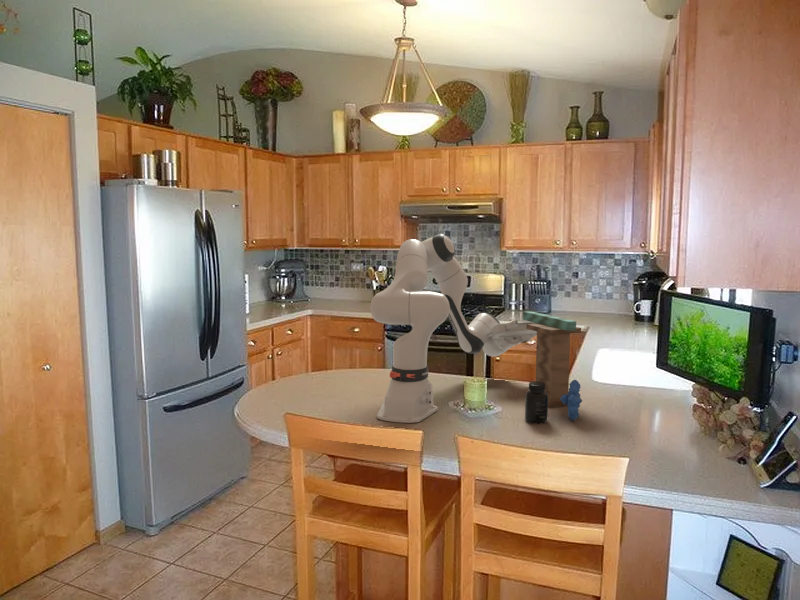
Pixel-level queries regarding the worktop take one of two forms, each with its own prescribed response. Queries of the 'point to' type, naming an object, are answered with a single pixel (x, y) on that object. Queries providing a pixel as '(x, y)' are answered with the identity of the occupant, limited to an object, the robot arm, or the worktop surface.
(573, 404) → the grapes
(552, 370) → the walnut stand
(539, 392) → the supplement bottle
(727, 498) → the worktop surface
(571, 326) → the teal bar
